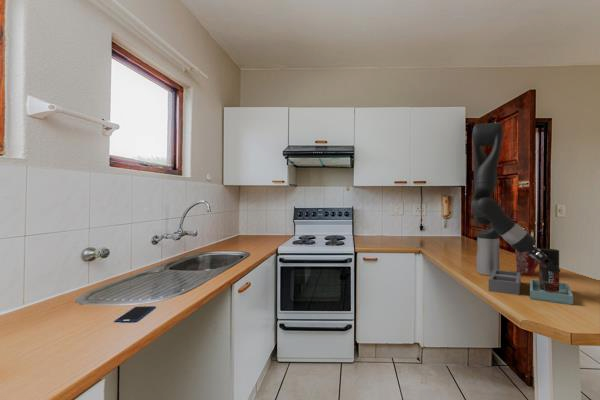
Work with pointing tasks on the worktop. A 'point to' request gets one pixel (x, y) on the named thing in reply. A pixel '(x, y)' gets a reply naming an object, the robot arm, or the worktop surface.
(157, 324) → the worktop surface
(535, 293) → the tray
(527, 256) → the mug
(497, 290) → the holder
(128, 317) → the cell phone
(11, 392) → the worktop surface
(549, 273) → the deodorant
